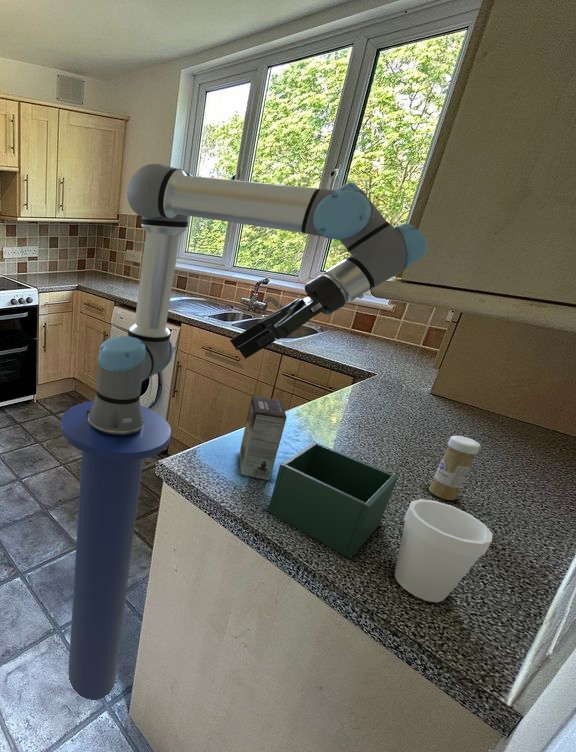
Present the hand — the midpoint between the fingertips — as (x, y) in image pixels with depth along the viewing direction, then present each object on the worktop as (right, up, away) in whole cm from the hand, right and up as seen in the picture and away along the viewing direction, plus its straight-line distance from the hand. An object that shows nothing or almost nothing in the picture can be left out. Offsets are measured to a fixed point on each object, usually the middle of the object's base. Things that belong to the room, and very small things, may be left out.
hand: (236, 349), depth 87 cm
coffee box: (+7, -27, +8) cm, 29 cm away
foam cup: (+20, -39, -22) cm, 49 cm away
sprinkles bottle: (+45, -32, +1) cm, 55 cm away
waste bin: (+13, -33, -8) cm, 37 cm away
